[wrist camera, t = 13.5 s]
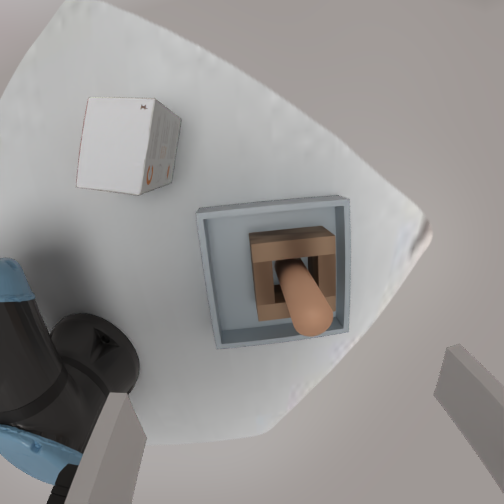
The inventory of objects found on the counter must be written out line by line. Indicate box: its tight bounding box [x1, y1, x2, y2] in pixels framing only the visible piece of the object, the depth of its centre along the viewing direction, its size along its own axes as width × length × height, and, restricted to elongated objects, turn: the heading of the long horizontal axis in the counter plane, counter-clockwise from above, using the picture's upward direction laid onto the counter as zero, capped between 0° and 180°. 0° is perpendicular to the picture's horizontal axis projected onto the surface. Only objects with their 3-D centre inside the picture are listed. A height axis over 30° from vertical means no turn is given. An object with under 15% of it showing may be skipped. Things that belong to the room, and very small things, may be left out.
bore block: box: [249, 226, 336, 321], centre depth 37 cm, size 9×9×5 cm
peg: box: [274, 258, 333, 337], centre depth 32 cm, size 4×4×14 cm
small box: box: [76, 97, 181, 196], centre depth 29 cm, size 8×6×13 cm
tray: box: [196, 195, 351, 349], centre depth 38 cm, size 17×17×4 cm
